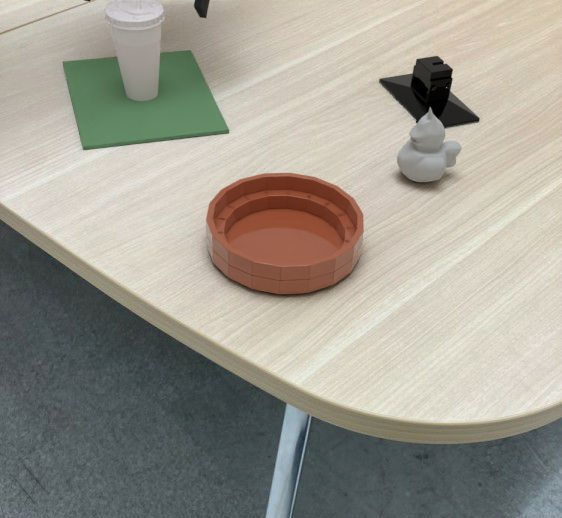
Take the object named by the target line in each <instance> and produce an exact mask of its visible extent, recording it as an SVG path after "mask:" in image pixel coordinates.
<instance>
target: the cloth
mask: <svg viewBox="0 0 562 518" xmlns="http://www.w3.org/2000/svg"><path fill="white" fill-rule="evenodd" d="M62 66H63V70H64V75H65V78H66V79H65V80H66V82H67V83H66V84H67V87H68V91H69V95H70V99H71V104H72V108H73V113H74V116H75V121H76V125H77V129H78V133H79V137H80V142H81V145H82V150H92V149H101V148H109V147H110V148H111V147H119V146H127V145H137V144H144V143H154V142H163V141H170V140H178V139H186V138H187V139H188V138H197V137H205V136H213V135H221V134H229V133H230V129H229V126H228V125H227V123H226V119H225V118H224V117H223V114H222V111H221V110H220V108H219V106H218V104H217V102H216V100H215V97H214V96H213V94H212V91H211V89H210V87H209V85H208V83H207V81H206V78H205V77H204V75H203V72H202V71H201V69H200V67H199V64H198V62H197V59H196V58H195V56H194V53H193V52H192V50H191V49H184V50H175V51H163V52H160V64H159V84H158V95H157V96H156V97H155V98H154V99H152V100H148V101H135V100H132V99H130V98H128V97H127V95H126V92H125V87H124V83H123V79H122V75H121V71H120V67H119V62H118V58H117V56H108V57H97V58H87V59H76V60H64V61H62Z"/></svg>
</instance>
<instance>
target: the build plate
mask: <svg viewBox="0 0 562 518" xmlns="http://www.w3.org/2000/svg"><path fill="white" fill-rule="evenodd" d="M453 71H454V69H453V67H451V66H450V65H449V64H448V63H445V61H444V60H443V59H442V58H441V57H440V56H439V55H433V56H427V57H419V58H416V59H415V65H413V68H412V73H407V74H400V75H394V76H388V77H381V78H379V80H378V82H379V84H381V86H382V87H383V88H384V89H385V90H386V91H387V92H388V93H389V94H390V95H391V96H392V97H393V98H394V99H395V100H396V101H397V102H398V103H399V104H400V105H401V106H402V107H403V108H404V109H405V110H406V111H407V113H409V114H410V115H411V116H412V117H413V118H414V119H415V123H416V124H417V123H418V122H419V120H420V119H421V118H422V117H423V116H424V115H426V114H427V113H428V112H429V108H430V107H431V110H432V113H433V114H434V116H435V117H436V118H437V119H438V120H440V121H441V123H442V124H443V126H444V128H445V129H447V128H452V127H457V126H463V125H469V124H474V123H479V122H480V121H481V118H480V117H479V116H478V115H477V114H476V113H475V112H474V111H473V110H472V109H470V108H469V107H468V106H467V105H466V104H465V103H464V102H463V101H462V100H461V99H459V97H457V96H456V94H454V93H453V92H452V91H451V90H452V89H451V88H452V83H453Z"/></svg>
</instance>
